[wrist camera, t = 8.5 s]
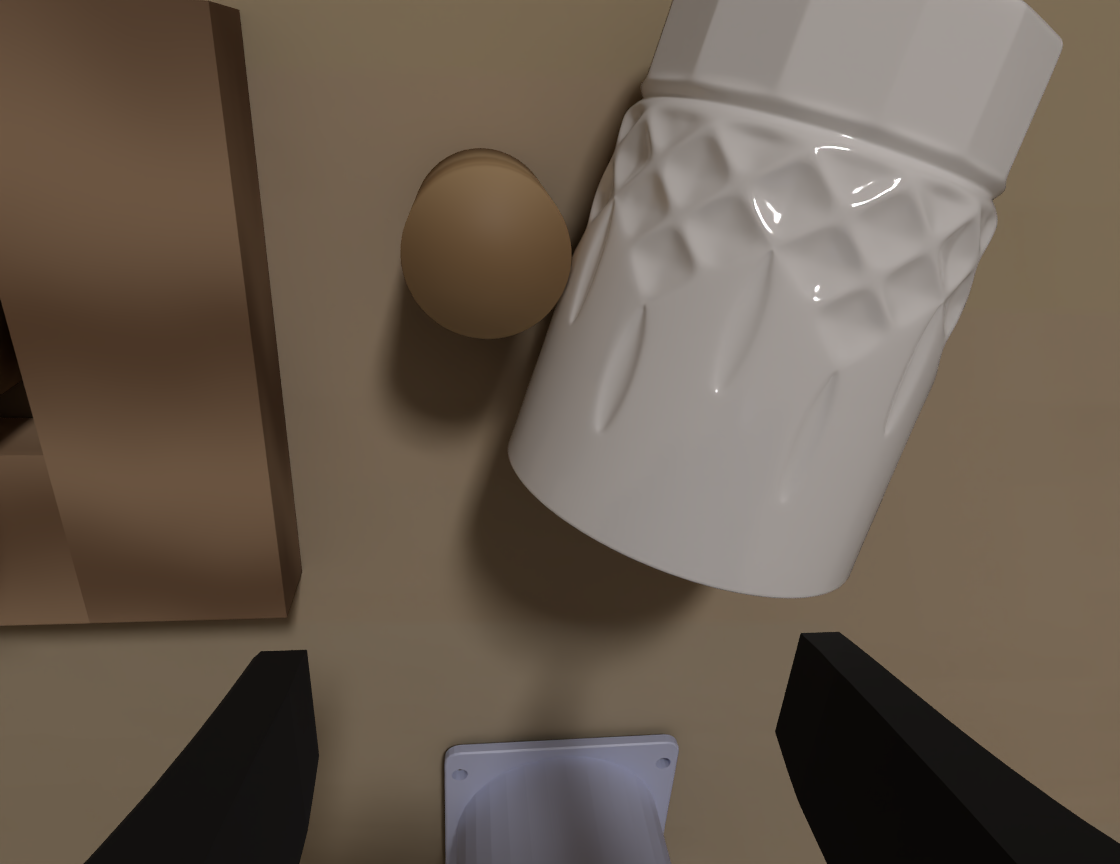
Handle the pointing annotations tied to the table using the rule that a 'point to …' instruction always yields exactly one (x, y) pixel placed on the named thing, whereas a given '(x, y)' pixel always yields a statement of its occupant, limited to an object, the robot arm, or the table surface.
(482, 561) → the table surface
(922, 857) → the robot arm
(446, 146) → the table surface
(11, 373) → the long dowel
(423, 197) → the short dowel
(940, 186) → the white cup
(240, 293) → the wooden board with hole
